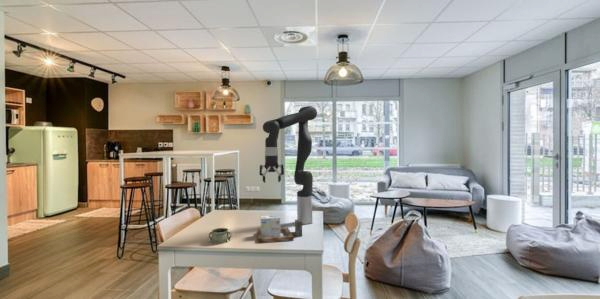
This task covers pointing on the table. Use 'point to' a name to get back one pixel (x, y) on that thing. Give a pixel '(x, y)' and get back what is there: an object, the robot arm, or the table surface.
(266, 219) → the light bulb box
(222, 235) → the vessel
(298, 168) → the robot arm
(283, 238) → the pull frame
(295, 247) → the table surface
